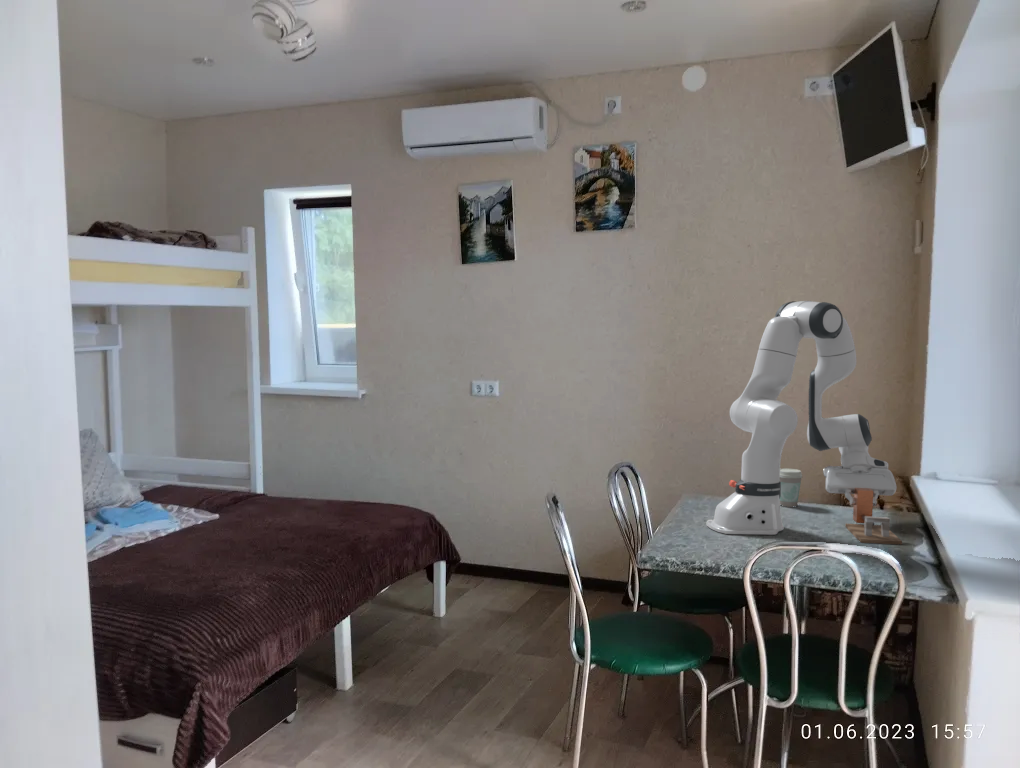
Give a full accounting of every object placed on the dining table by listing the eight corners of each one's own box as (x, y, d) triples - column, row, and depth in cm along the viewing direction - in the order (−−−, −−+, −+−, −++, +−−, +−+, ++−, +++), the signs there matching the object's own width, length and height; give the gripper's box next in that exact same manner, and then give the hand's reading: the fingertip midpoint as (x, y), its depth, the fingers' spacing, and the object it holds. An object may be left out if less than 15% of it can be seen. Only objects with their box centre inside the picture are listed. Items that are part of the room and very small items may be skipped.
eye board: (845, 526, 248) (846, 506, 248) (883, 528, 246) (884, 508, 246) (860, 542, 231) (861, 520, 230) (902, 544, 229) (903, 522, 228)
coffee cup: (772, 506, 275) (773, 471, 274) (777, 501, 282) (778, 467, 282) (799, 509, 271) (800, 473, 270) (803, 504, 278) (804, 469, 278)
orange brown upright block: (852, 519, 253) (854, 487, 252) (868, 520, 252) (869, 488, 251) (863, 529, 240) (864, 495, 240) (879, 530, 240) (880, 496, 239)
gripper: (824, 460, 257) (829, 497, 248) (893, 462, 254) (901, 500, 245) (820, 471, 262) (825, 508, 253) (888, 474, 259) (896, 511, 250)
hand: (863, 504), depth 249 cm, fingers closed on orange brown upright block, 4 cm apart
